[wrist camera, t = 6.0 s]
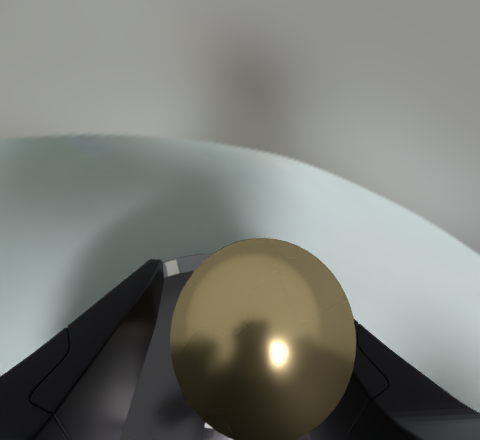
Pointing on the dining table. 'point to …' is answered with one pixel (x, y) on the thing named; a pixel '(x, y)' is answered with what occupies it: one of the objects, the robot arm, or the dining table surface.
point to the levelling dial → (245, 348)
